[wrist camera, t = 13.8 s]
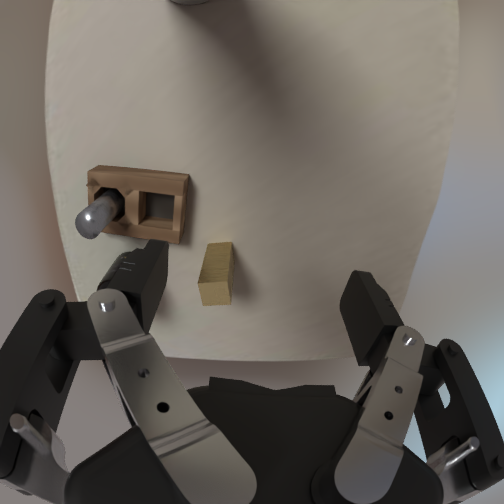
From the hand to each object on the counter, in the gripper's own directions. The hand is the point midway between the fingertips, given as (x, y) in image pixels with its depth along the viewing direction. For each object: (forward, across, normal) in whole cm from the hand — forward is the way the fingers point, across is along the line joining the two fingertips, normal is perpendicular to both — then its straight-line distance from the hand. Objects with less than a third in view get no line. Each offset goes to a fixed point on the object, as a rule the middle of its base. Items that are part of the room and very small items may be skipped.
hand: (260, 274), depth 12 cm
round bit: (+28, +18, +9) cm, 35 cm away
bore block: (+28, +15, +9) cm, 33 cm away
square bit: (+28, +2, +16) cm, 32 cm away
